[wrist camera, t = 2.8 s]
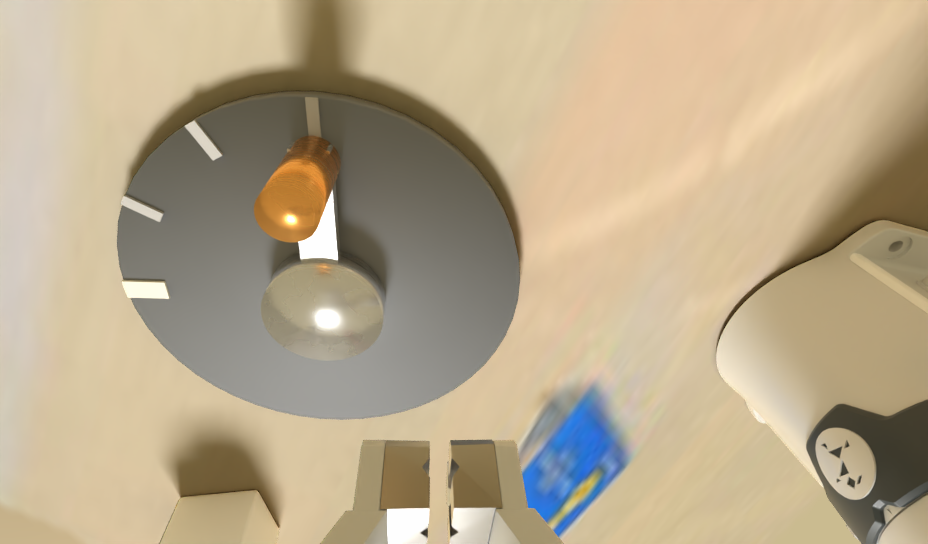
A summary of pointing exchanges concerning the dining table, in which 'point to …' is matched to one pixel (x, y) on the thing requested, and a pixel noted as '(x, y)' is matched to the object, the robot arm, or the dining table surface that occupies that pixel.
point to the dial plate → (258, 255)
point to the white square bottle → (221, 520)
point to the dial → (315, 261)
